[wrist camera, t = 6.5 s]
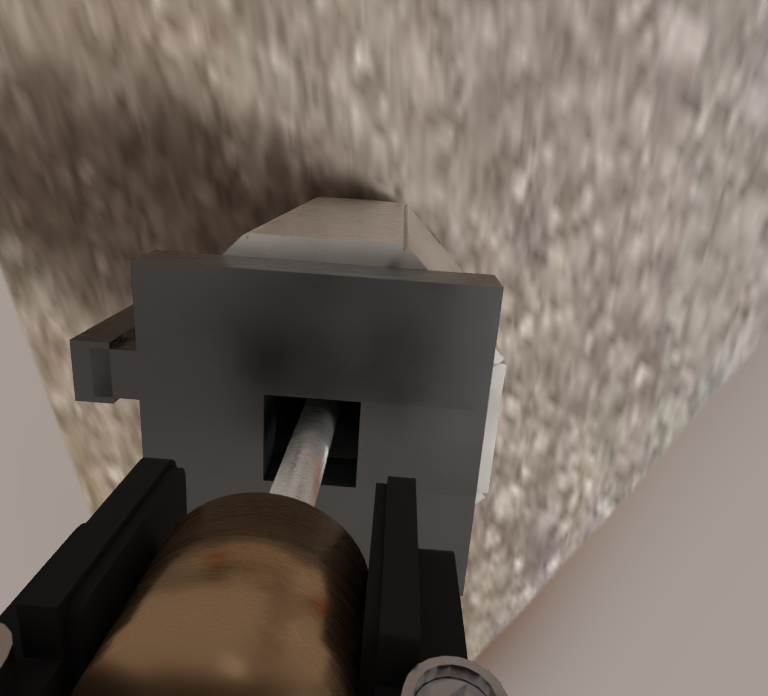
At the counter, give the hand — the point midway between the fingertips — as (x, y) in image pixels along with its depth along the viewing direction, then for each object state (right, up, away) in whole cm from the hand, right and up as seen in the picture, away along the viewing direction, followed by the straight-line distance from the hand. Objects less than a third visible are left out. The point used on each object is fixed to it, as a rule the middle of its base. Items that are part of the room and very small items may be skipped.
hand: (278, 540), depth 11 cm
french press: (-1, +6, +19) cm, 20 cm away
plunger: (+1, +5, +14) cm, 15 cm away
